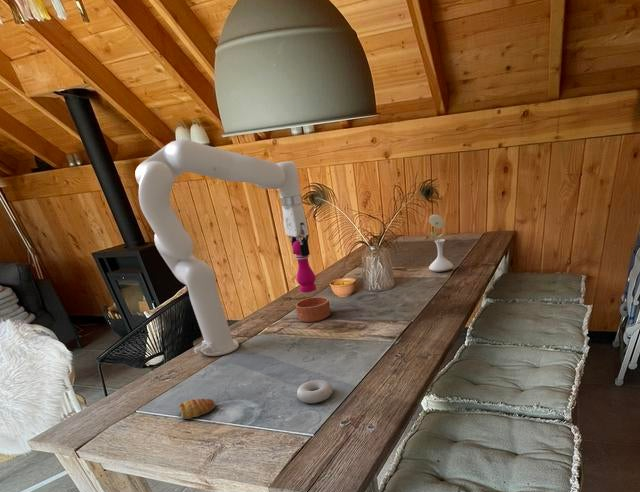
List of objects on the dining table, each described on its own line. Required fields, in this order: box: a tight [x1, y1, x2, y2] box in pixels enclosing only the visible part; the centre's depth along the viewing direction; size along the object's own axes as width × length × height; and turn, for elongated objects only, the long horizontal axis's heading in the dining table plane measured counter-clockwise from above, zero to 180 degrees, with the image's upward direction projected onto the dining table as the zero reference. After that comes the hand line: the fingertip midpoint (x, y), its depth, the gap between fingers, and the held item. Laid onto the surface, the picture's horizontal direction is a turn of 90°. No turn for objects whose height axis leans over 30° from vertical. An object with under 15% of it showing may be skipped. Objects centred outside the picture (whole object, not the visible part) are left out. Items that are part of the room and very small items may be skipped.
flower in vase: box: [428, 214, 454, 273], centre depth 218 cm, size 13×11×25 cm
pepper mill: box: [291, 237, 317, 293], centre depth 176 cm, size 7×7×20 cm
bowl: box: [294, 296, 332, 323], centre depth 186 cm, size 13×13×6 cm
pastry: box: [178, 398, 216, 420], centre depth 129 cm, size 9×7×4 cm
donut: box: [296, 379, 333, 404], centre depth 129 cm, size 10×4×10 cm
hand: (301, 254), depth 174 cm, fingers closed on pepper mill, 6 cm apart
